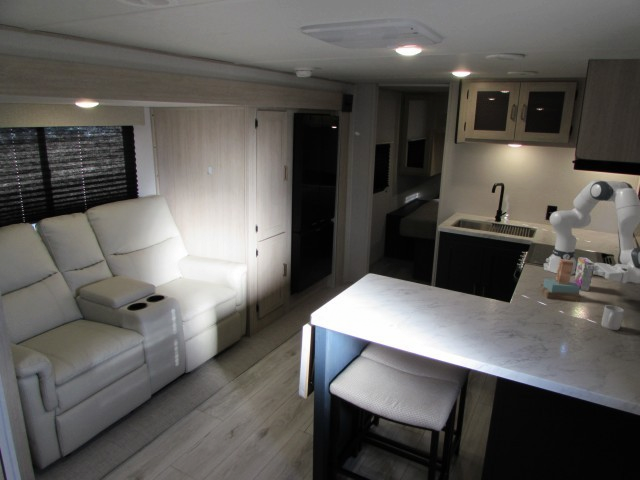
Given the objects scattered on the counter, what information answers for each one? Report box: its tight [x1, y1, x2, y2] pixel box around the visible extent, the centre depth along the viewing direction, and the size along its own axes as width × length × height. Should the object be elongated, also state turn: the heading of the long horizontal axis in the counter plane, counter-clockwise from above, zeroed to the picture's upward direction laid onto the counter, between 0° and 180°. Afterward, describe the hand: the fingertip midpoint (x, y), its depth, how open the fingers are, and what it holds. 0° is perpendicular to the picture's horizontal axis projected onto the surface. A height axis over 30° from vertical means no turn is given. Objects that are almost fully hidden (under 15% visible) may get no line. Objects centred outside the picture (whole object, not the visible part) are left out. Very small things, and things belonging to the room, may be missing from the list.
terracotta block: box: [555, 259, 573, 285], centre depth 240 cm, size 5×5×12 cm
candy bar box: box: [573, 256, 595, 292], centre depth 256 cm, size 11×5×16 cm, turn 168°
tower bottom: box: [539, 284, 582, 303], centre depth 243 cm, size 13×16×4 cm
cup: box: [600, 304, 625, 331], centre depth 204 cm, size 7×10×9 cm
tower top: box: [542, 278, 581, 294], centre depth 242 cm, size 10×14×4 cm
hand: (590, 269), depth 237 cm, fingers open, 8 cm apart
